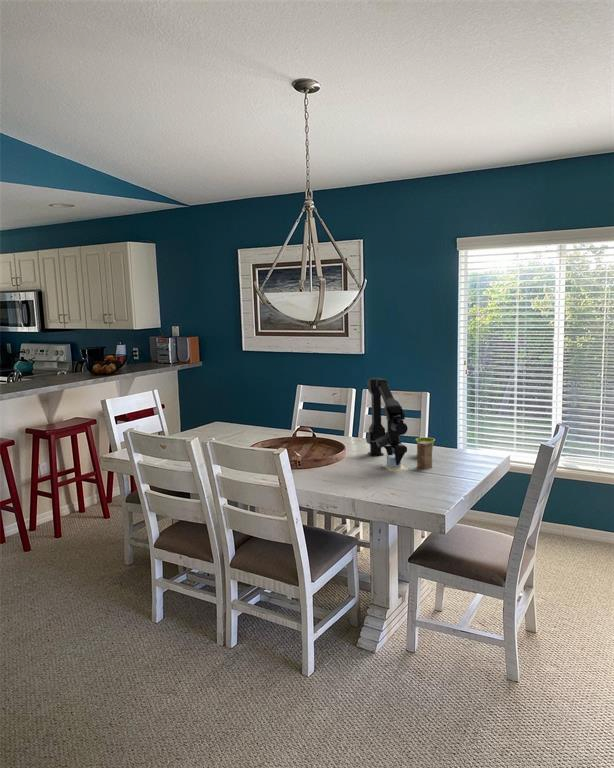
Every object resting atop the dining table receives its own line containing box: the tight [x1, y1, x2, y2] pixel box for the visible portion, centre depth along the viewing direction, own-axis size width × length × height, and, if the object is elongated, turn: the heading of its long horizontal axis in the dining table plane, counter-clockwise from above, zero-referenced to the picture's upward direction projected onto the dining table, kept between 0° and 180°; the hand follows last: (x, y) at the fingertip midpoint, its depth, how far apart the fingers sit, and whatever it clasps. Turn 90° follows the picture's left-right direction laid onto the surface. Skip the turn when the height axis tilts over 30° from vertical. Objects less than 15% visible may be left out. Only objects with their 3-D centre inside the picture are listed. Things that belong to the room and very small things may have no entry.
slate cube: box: [386, 454, 402, 468], centre depth 279 cm, size 5×5×5 cm
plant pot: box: [415, 436, 436, 451], centre depth 296 cm, size 9×9×9 cm
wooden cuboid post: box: [416, 441, 433, 470], centre depth 276 cm, size 5×5×12 cm
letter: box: [381, 463, 409, 472], centre depth 278 cm, size 12×9×1 cm
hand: (393, 462), depth 279 cm, fingers open, 9 cm apart
